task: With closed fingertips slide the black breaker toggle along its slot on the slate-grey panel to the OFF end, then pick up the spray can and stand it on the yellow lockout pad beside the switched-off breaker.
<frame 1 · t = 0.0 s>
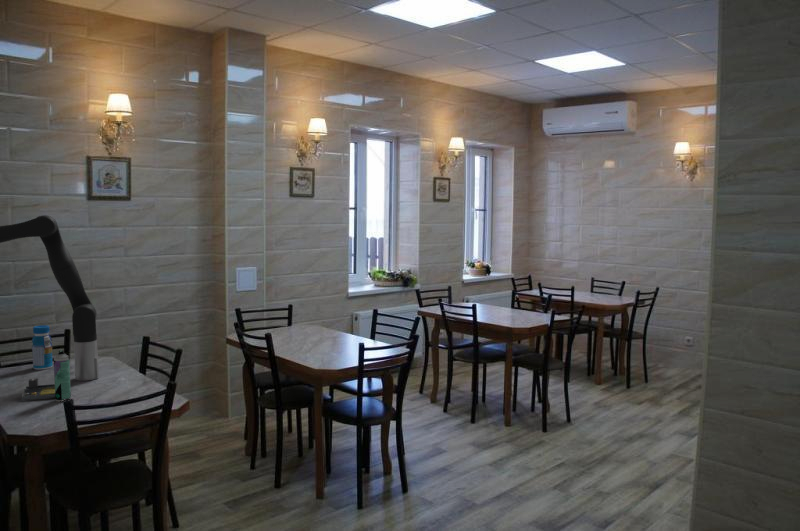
panel: (45, 395, 260), on the table
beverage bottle: (43, 368, 303), on the table
toggle: (33, 384, 260), point 4 cm above the table, slide at 0.0 cm
spray can: (63, 400, 254), on the table
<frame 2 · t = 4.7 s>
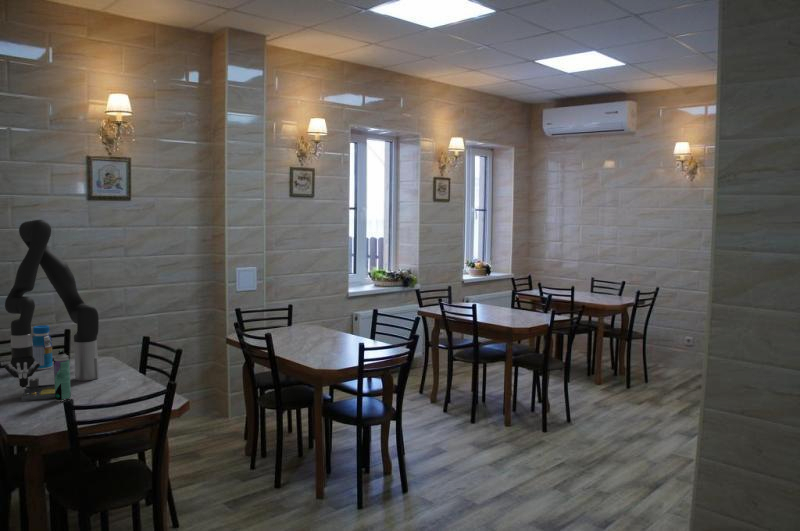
hand: (23, 386, 259), 3 cm above the table, fingers closed
toggle: (34, 384, 260), point 4 cm above the table, slide at 0.3 cm, touching gripper
everything else where it was.
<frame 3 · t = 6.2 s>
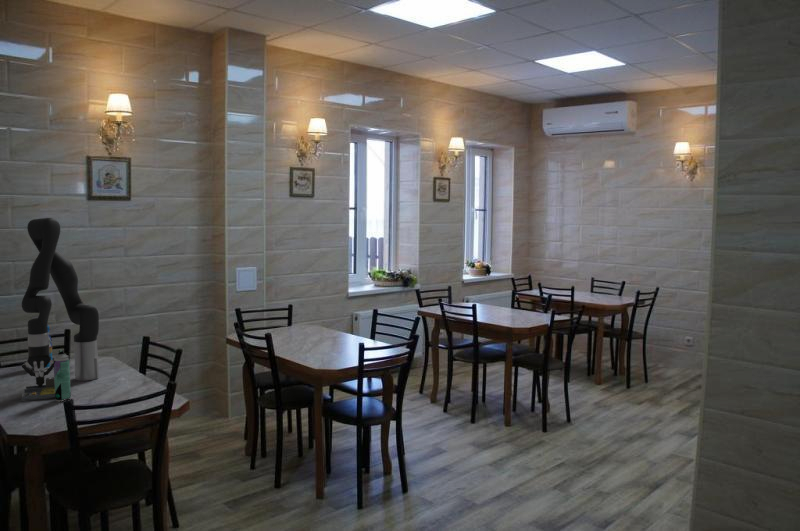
hand: (40, 385, 261), 3 cm above the table, fingers closed
toggle: (50, 382, 263), point 4 cm above the table, slide at 6.1 cm, touching gripper
everything else where it was.
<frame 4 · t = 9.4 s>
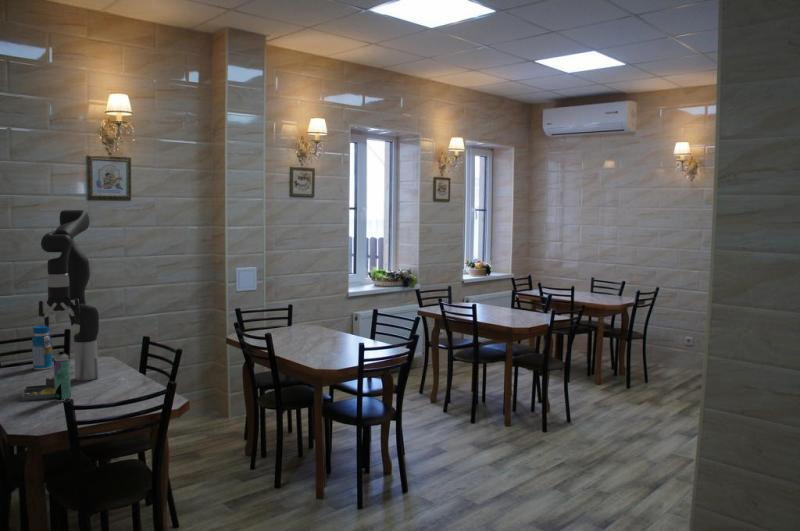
hand: (60, 325, 251), 30 cm above the table, fingers open, 8 cm apart
toggle: (50, 382, 263), point 4 cm above the table, slide at 6.2 cm
everything else where it was.
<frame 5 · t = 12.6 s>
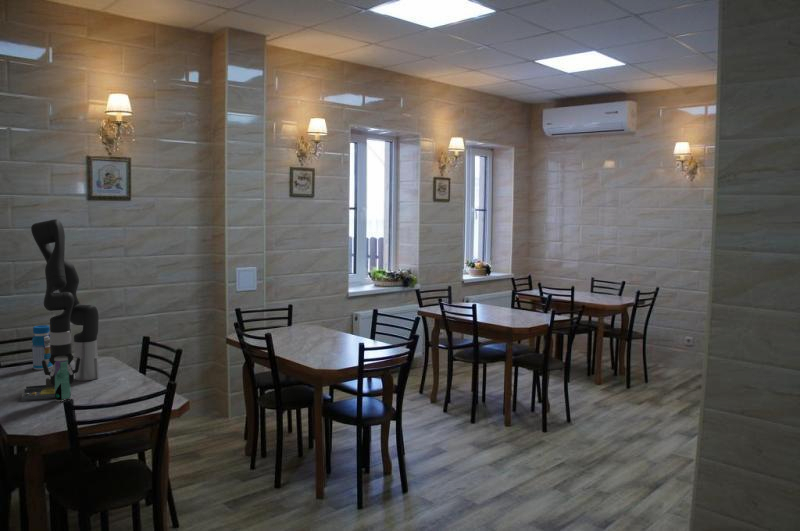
hand: (62, 383, 253), 6 cm above the table, fingers closed on spray can, 5 cm apart
spray can: (63, 400, 254), on the table, touching gripper
everything else where it was.
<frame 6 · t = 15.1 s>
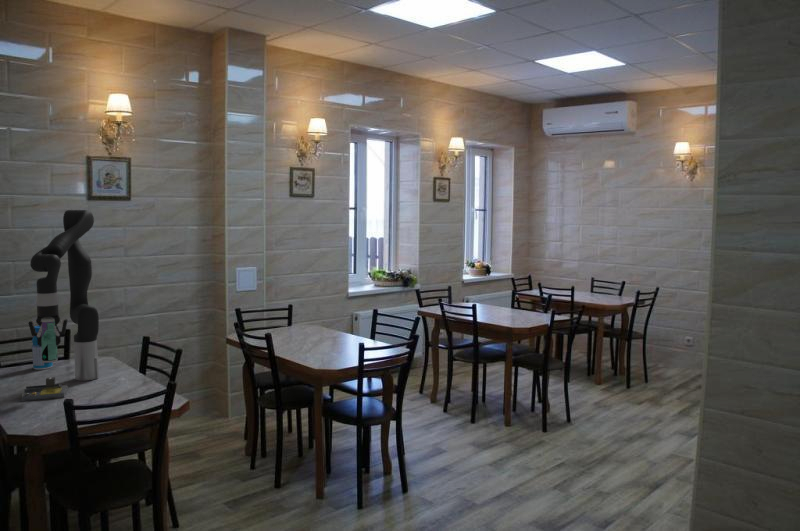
hand: (49, 345, 256), 21 cm above the table, fingers closed on spray can, 5 cm apart
spray can: (49, 361, 257), point 14 cm above the table, touching gripper
everything else where it was.
when the fingers open (10 cm above the table, at t = 17.9 s): spray can stays where it is, resting on panel.
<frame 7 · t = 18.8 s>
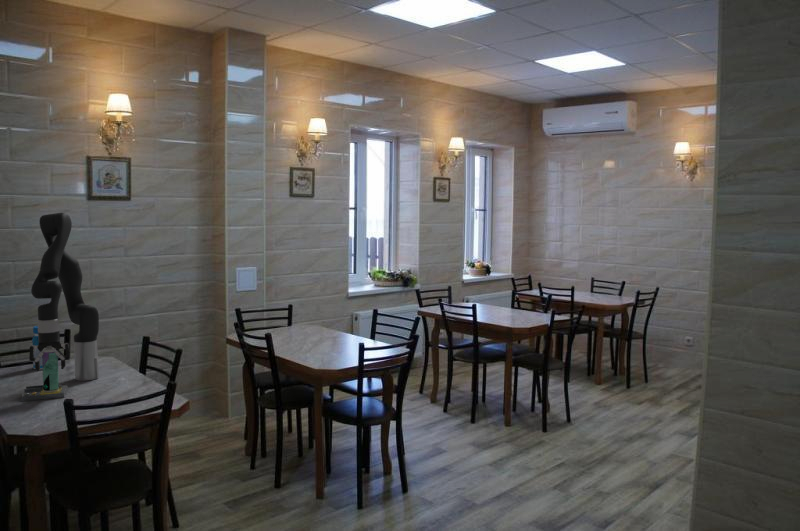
hand: (50, 369, 257), 11 cm above the table, fingers open, 8 cm apart
spray can: (51, 391, 258), point 2 cm above the table, touching panel
everything else where it was.
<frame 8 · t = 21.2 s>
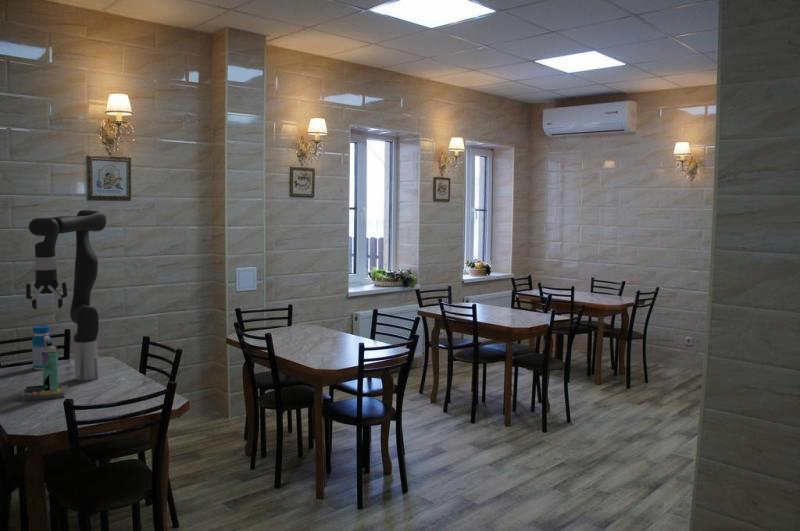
hand: (47, 308, 255), 36 cm above the table, fingers open, 8 cm apart
nothing on the table moved.
at the end: toggle slide at 6.2 cm; spray can inside the target area on the panel (0.1 cm from its centre), point 2.2 cm above the panel's base; spray can tilted 0° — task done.
